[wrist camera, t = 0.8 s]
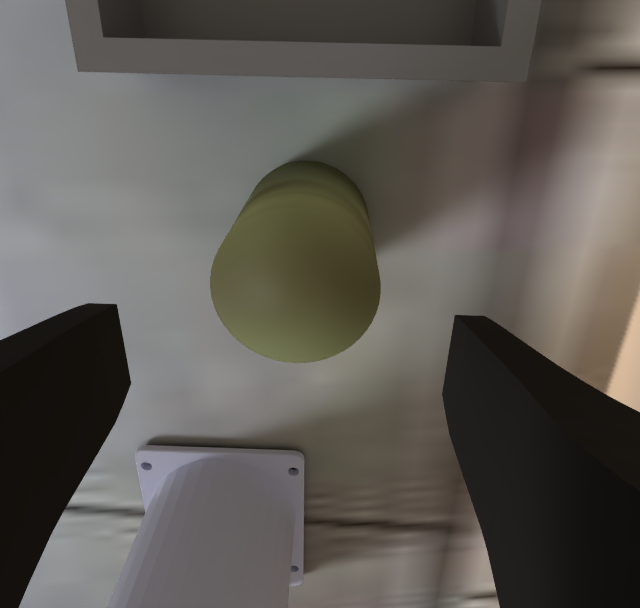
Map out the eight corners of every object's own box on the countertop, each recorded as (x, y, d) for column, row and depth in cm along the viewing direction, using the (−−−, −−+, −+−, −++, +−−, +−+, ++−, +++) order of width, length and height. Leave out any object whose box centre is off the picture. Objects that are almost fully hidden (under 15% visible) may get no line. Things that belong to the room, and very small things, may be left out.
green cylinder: (364, 280, 20) (374, 365, 15) (248, 277, 20) (216, 359, 15) (372, 162, 18) (387, 210, 12) (243, 159, 18) (203, 205, 13)
